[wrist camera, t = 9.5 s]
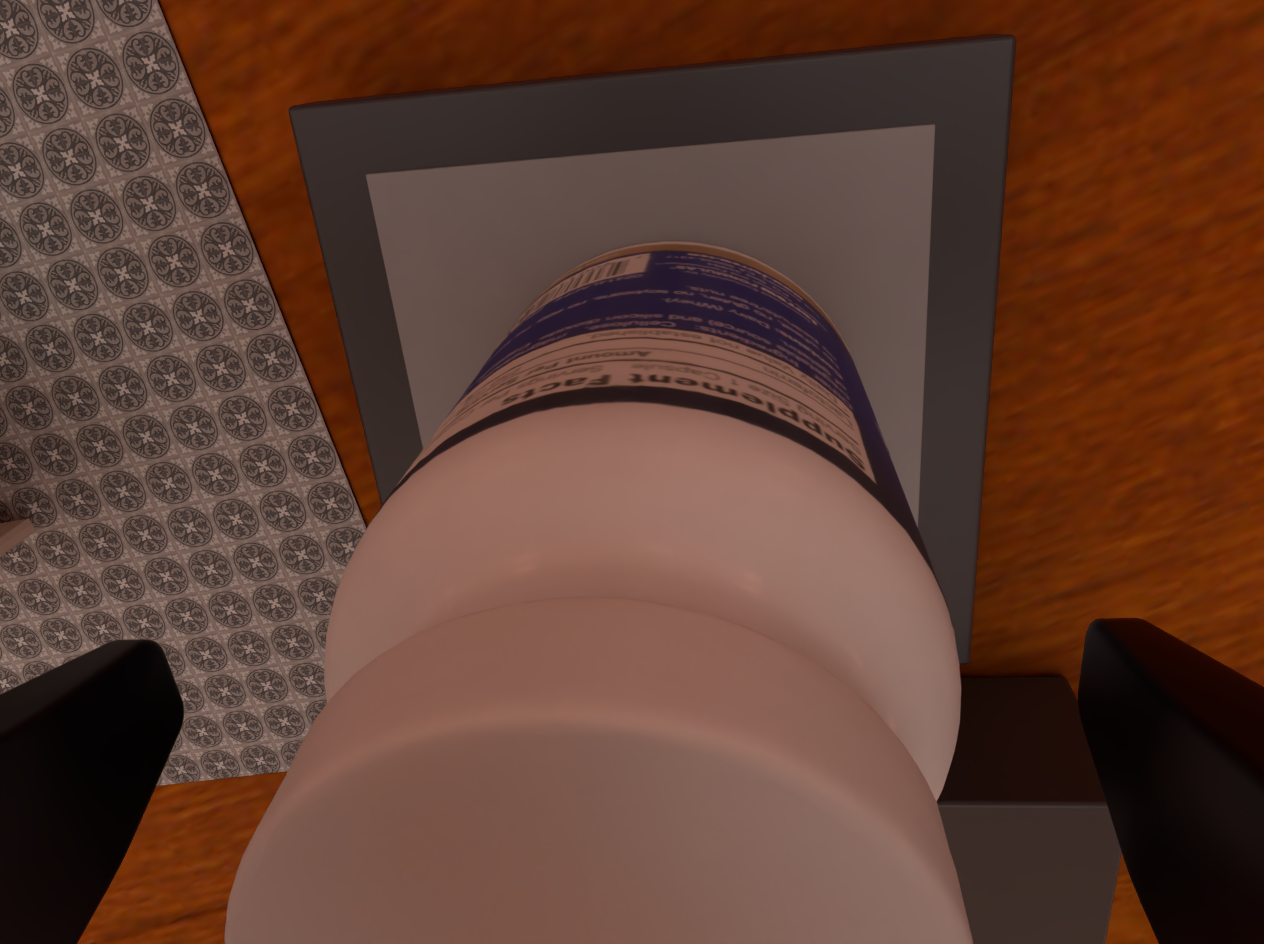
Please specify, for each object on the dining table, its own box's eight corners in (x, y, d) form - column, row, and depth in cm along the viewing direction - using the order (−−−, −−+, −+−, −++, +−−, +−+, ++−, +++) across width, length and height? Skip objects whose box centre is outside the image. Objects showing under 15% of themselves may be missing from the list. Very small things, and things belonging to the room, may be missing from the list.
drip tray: (998, 33, 13) (1019, 34, 12) (957, 632, 17) (971, 668, 16) (313, 101, 14) (283, 107, 13) (435, 641, 18) (418, 675, 17)
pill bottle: (797, 604, 16) (879, 1354, 7) (473, 525, 16) (133, 1176, 7) (916, 282, 13) (1290, 811, 4) (530, 187, 13) (104, 523, 4)
